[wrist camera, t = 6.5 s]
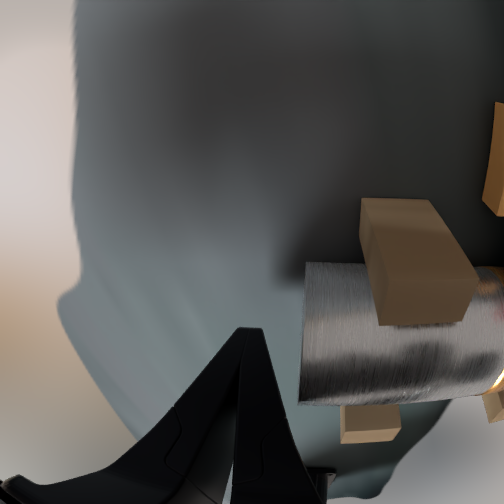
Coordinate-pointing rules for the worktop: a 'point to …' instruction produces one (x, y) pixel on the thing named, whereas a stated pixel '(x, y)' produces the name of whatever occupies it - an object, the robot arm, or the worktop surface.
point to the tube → (394, 344)
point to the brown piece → (407, 288)
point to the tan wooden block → (496, 165)
